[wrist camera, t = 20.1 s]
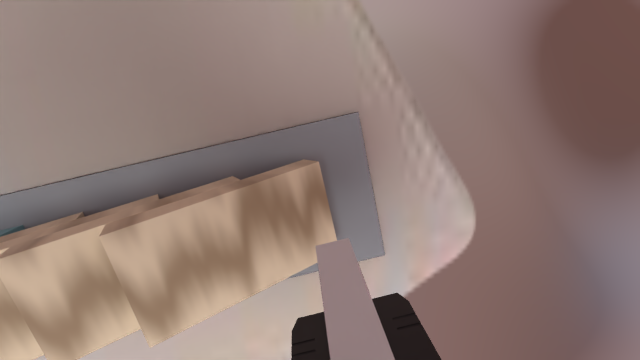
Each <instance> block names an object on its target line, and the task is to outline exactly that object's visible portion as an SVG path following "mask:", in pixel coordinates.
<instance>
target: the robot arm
mask: <svg viewBox="0 0 640 360" xmlns="http://www.w3.org/2000/svg"><path fill="white" fill-rule="evenodd" d="M315 247H316V254H317V262H318V269H319V277H320V285H321V292H322V300H323V307H324V312H321V313H317V314H313V315H309V316H305V317H301V318H298V319H297V321H296V324H295V326H294V328H293V330H292V358H291V360H441V358H440V356H439V355H438V353H437V351H436V349H435V347H434V346H433V344H432V342H431V340H430V339H429V337H428V335H427V333H426V331H425V330H424V328H423V326H422V325H421V323H420V321H419V319H418V317H417V315H416V314H415V312H414V310H413V308H412V306H411V305H410V303H409V301H408V300H406V299H405V298H404V297H402V296H401V295H400V294H398V293H394V294H390V295H386V296H382V297H378V298H374V299H372V298H371V295H370V293H369V290H368V288H367V285H366V282H365V280H364V277H363V274H362V272H361V269H360V267H359V264H358V261H357V259H356V256H355V253H354V251H353V248H352V246H351V243H350V240H349V238H346V239H342V240H338V241H334V242H329V243H325V244H321V245H317V246H315Z"/></svg>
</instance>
